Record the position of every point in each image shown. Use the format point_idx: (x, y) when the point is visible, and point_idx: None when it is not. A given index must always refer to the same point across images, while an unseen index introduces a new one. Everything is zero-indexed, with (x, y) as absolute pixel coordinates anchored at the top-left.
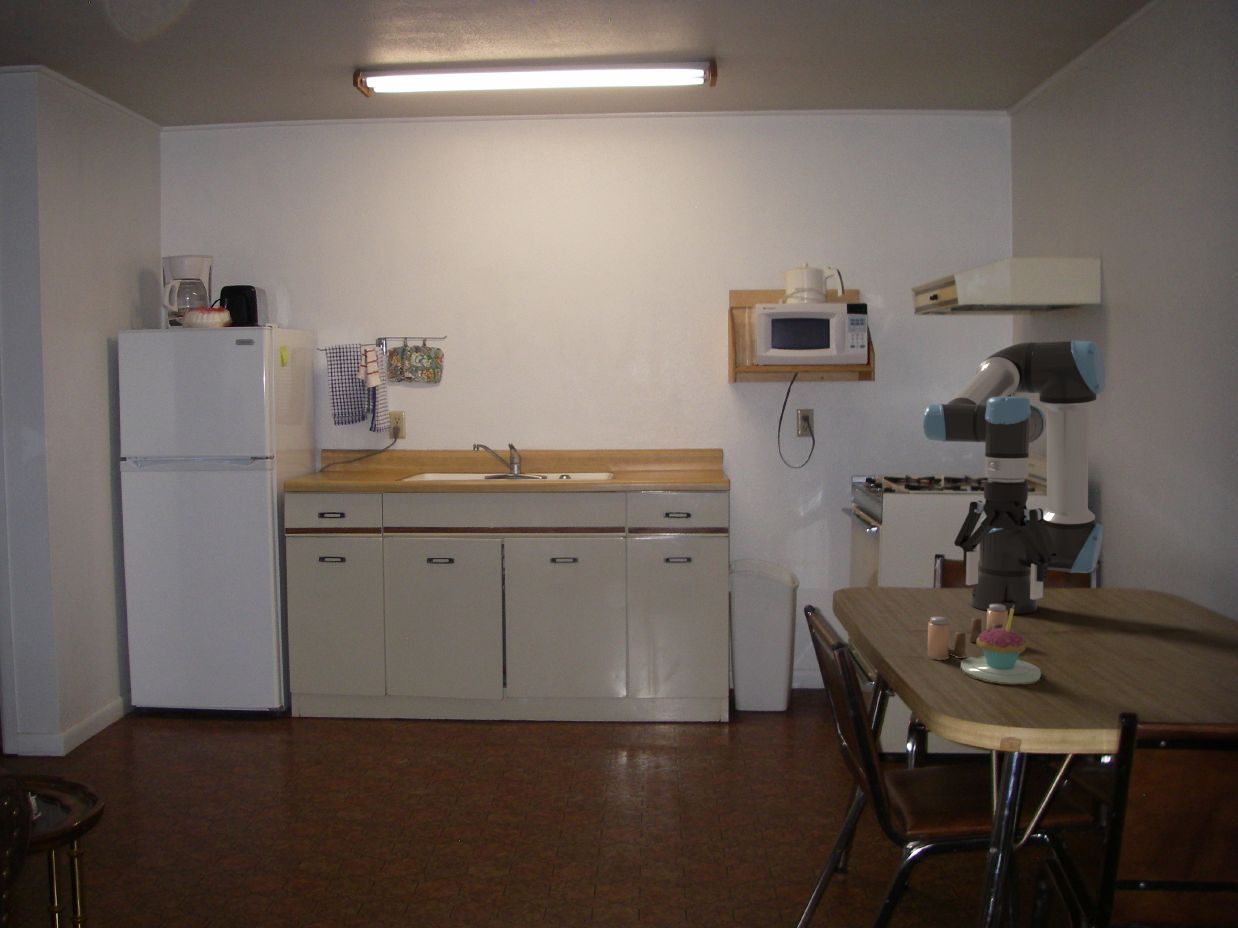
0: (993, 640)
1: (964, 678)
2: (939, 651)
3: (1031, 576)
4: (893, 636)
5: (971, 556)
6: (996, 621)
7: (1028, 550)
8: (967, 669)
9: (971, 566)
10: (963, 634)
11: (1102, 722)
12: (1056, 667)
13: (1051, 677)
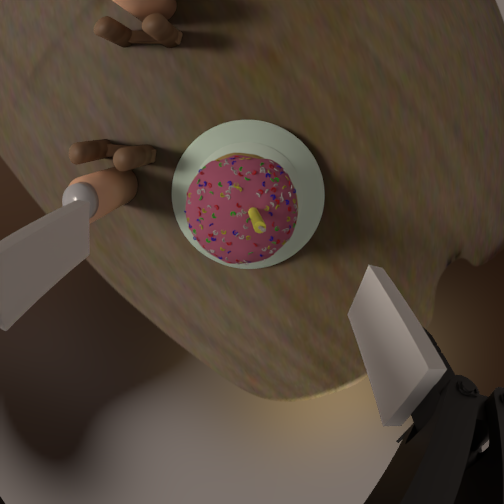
0: (241, 261)
1: (214, 267)
2: (123, 204)
3: (371, 377)
4: (26, 133)
5: (16, 307)
6: (143, 6)
7: (380, 485)
8: (208, 255)
9: (45, 278)
10: (132, 164)
11: (427, 313)
12: (318, 80)
13: (333, 153)
